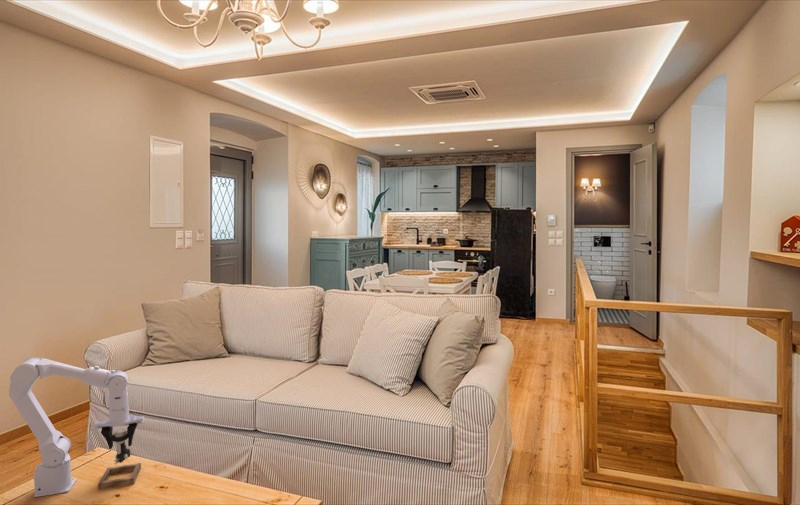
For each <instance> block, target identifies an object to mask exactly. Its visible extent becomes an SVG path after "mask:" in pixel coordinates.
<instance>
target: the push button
mask: <svg viewBox="0 0 800 505" xmlns="http://www.w3.org/2000/svg"><path fill="white" fill-rule="evenodd" d="M112 439H113V443H116V455H115V460H114V461H113V462H115V463H114V465H117V464H118V463H121V464H122V463H123V462H124V461H125V460H127V459H128V458H130V457H131V449H130V448H127V441H126V440H128V431H127V429H124V428H123V429H122V428H121V429H118V430H116V431H114V433H112Z"/></svg>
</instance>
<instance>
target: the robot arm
mask: <svg viewBox="0 0 800 505" xmlns="http://www.w3.org/2000/svg"><path fill="white" fill-rule="evenodd" d="M52 375H53V376H58V377H59V376H60V377H65V378H72V379H78V380H81V382H82V383H83V384H84V385H89V386H93V387H98V388H103V389H107V390H108V393H109V395H108V408H109V409H108V410H109V412H108V413H109V419H106V420H101V421H96V422H95V423H94V430H95V431H97V430H99V429H101V430H100V433H101V435H102V436H103V438H104V439H105V441H106V443H107V446H108V450H111V449H112V448H113V447H114V441H113V439H112V435H113V431H114V430H113V428H114V427H115V428H116V427H121V426H123V427H124V426H127V428H126V431H128V439H127V441H128V443H127V445H128V447H131V446H132V444H133V439H134V435H135V432H136V429H137V427H138V424H139V425H143V424H144V422H145V416H144V415H143V416H130V411H129V410H130V408H129V406H130V405H129V404H130V403H129V393H128V391H129V390H128V389H129V388H128V381H129V375H128V374H127V373H126V372H125V371H122V370H120V369H119V370H114V369H111V370H108V369H103V368H101V367H100V365H95V366H90V367H88V368H83V367H79V366H78V367H77V366H75V365H71V364H67V363H63V362H59V361H56V360H52V359H49V358H46V357H45V358H40V357H37V356H30V357H28V358H27V359H25V360H24V361H23V362H22V363H21V364H20V365H18V366H17V367H16V368H15V369H14V370H13V372H12V373H11V375H10V377H9V379H10V381H9V383H10V384H9V388H8V396H9V398H10V399H11V401H12V402H13V404H14V406H15V407H16V408H17V411H18V412H19V413H20V415H21V417H22V419H23V420H24V421H25V423H26V424H27V426H28V428H29V429H30V431H31V432H32V434H33V436H34V437H35V439H36V440H37V442H38V452H40V454H41V462H42V463H39V464H38V465H36V466H35V468H34V472H33V473H34V474H33V483H34V495H33V497H34V498H39V497H45V496H51V495H58V494H63V493H68V492H70V491H71V489H72V488H73V486H74V484H75V482H76V481H77V478H72V458H71V456H70V454H69V453H68V452H69V451H70V449H71V447H72V442H71V440H70V438H68V437H66V436H65V435H63V434H62V431H59V430H57V429H56V428H55V427H54V424H53V423H52V421H51V420H50V419H49V417H48V414H46V412H45V410H44V409H43V407H42V405H41V404H40V402H39V401H38V400H37V397H36V396H35V394H34V393H33V391H32V389H33V388H34V387H33V386H34V384H35V382H36V380H37V378H39V379H44V378H48V377H50V376H52Z"/></svg>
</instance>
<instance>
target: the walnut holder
mask: <svg viewBox="0 0 800 505" xmlns="http://www.w3.org/2000/svg"><path fill="white" fill-rule="evenodd" d="M141 469H142V463H141V462H137V463H132V464H131V463H130V464H123V465H119V466H111V467H107V468H106V470H105V471H104V472H103V475H102V476H101V478H100V480H99V482H98V484H97V488H98V490H100V491H101V490H107V489H111V488H118V487H125V486H130V485H135V483H136V481H137V479H138V476H139V474H140V472H141ZM129 472H132V474H131V476H129V477H122V478H115V479H110V480H109V478H110V476H112V475H116V474H122V473H124V474H125V473H129Z"/></svg>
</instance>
